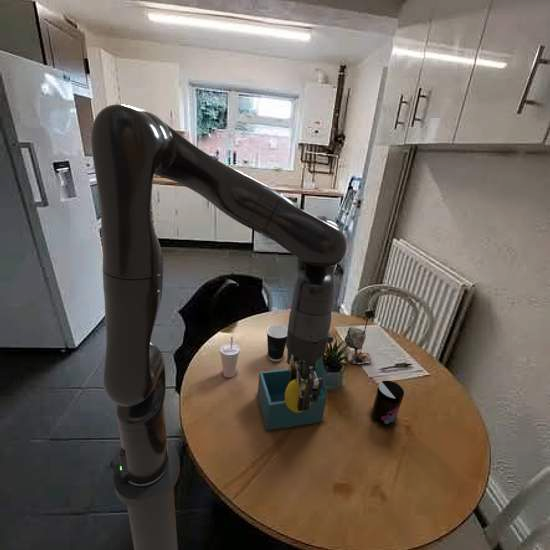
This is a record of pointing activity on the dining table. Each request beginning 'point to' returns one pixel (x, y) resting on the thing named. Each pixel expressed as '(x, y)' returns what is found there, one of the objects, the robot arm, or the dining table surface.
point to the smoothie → (229, 358)
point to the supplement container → (387, 402)
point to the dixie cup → (276, 341)
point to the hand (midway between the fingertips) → (298, 397)
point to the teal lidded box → (275, 405)
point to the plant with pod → (358, 342)
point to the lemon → (293, 396)
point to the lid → (320, 369)
